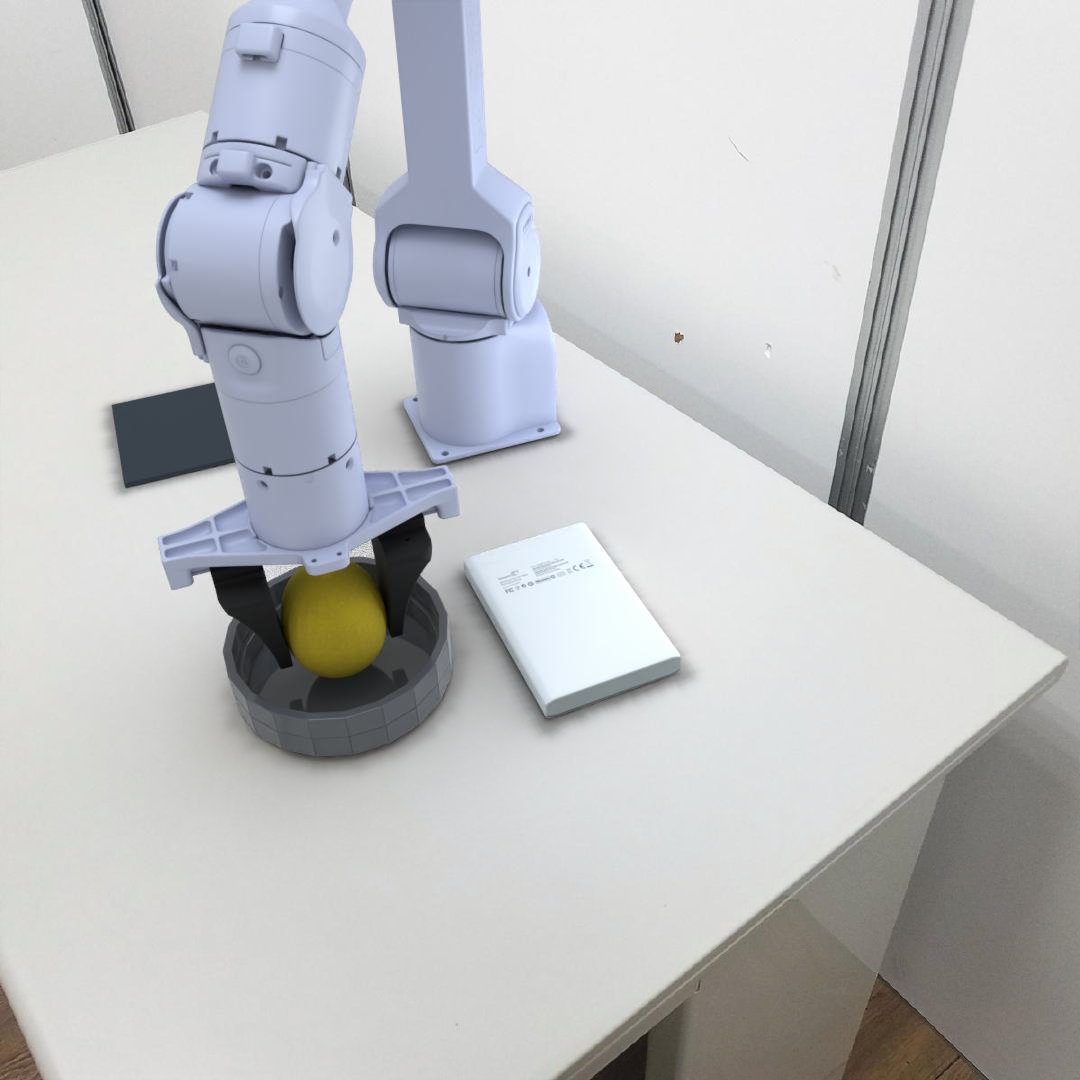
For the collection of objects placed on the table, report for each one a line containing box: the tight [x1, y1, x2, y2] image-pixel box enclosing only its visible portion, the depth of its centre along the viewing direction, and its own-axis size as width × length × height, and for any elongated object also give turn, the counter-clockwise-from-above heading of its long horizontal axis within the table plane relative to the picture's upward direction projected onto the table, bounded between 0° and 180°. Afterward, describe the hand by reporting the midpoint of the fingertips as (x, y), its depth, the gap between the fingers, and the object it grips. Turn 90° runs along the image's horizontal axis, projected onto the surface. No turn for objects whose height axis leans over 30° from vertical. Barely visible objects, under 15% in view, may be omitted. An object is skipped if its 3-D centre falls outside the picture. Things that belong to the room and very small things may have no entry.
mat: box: [111, 381, 236, 488], centre depth 80 cm, size 10×10×1 cm
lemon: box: [281, 561, 387, 678], centre depth 59 cm, size 6×6×8 cm
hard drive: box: [462, 522, 682, 719], centre depth 64 cm, size 2×8×12 cm
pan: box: [222, 556, 453, 757], centre depth 61 cm, size 12×12×3 cm
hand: (338, 639), depth 60 cm, fingers closed on lemon, 5 cm apart
